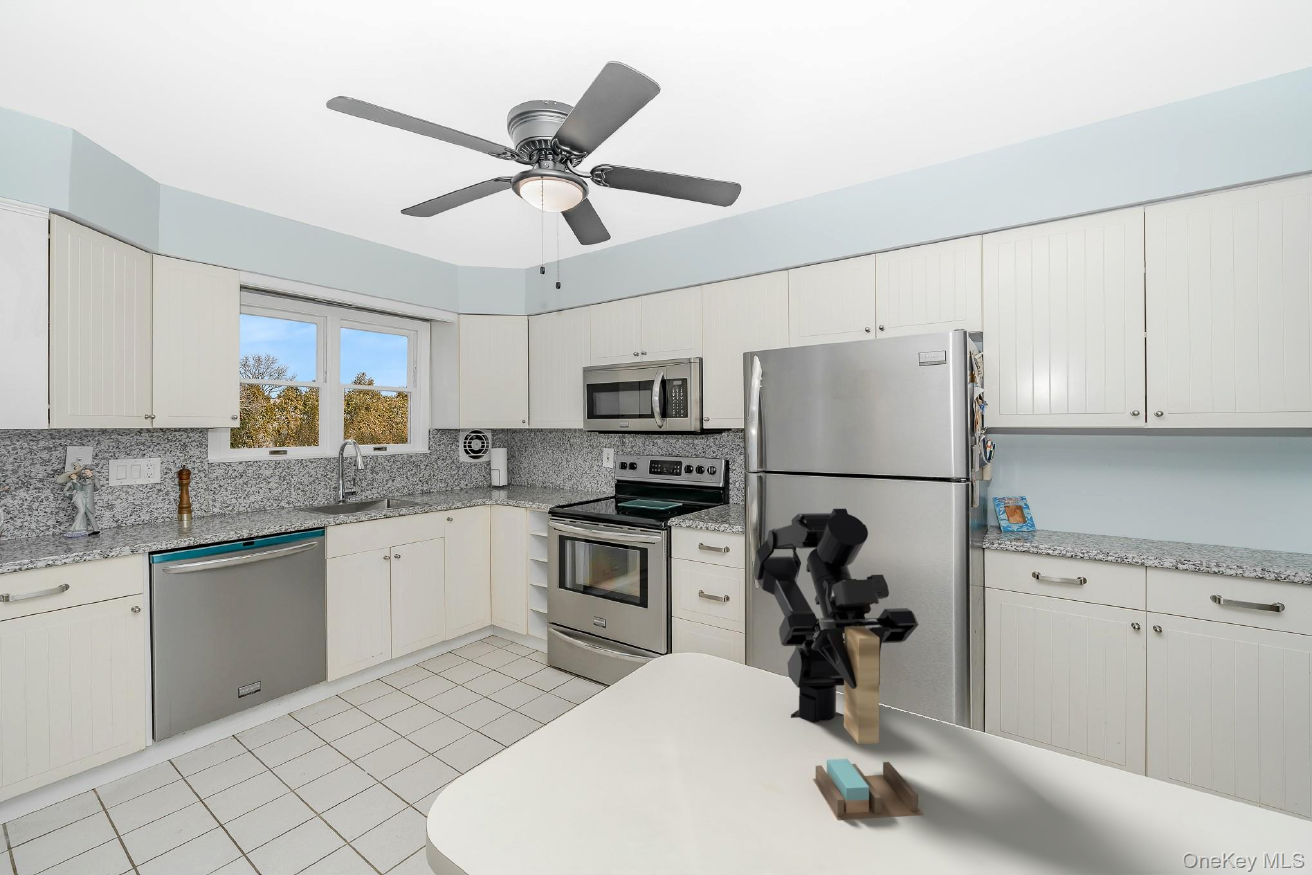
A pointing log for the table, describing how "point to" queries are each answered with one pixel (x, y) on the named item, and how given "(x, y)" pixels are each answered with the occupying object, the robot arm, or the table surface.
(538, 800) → the table surface
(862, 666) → the oak board
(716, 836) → the table surface
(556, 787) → the table surface
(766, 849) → the table surface
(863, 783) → the offcut upper
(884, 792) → the rack
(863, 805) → the offcut lower
